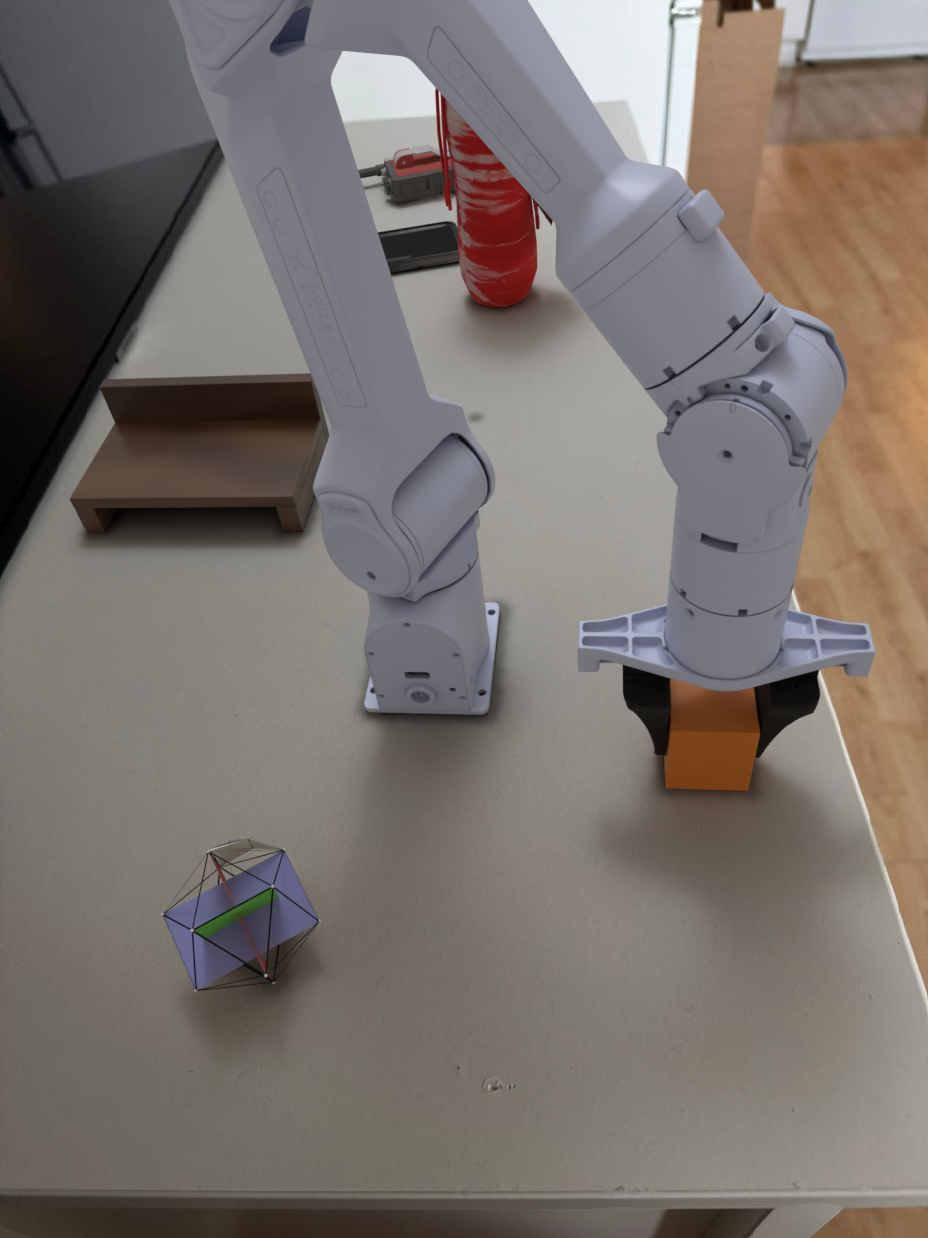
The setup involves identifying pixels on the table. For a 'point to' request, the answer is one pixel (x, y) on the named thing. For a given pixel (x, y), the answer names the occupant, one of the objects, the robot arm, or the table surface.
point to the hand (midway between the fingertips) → (706, 742)
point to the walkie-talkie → (412, 173)
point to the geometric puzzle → (240, 915)
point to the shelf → (207, 446)
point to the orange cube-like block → (711, 738)
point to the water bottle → (488, 215)
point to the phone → (420, 246)
